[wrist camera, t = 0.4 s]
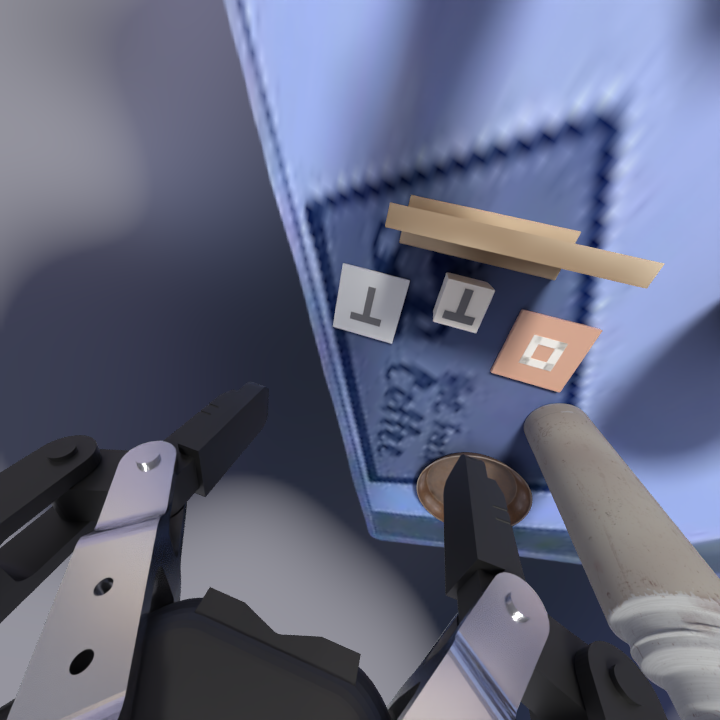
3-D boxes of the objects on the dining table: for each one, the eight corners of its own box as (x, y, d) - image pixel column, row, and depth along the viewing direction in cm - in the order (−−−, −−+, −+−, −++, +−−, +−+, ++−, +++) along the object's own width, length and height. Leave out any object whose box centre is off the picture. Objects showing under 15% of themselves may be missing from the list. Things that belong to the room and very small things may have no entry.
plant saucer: (414, 505, 53) (413, 520, 50) (420, 435, 45) (419, 448, 43) (514, 525, 49) (518, 542, 46) (538, 451, 41) (545, 467, 38)
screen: (411, 195, 31) (396, 174, 18) (577, 231, 28) (685, 234, 16) (399, 242, 33) (379, 250, 21) (552, 279, 31) (629, 312, 19)
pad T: (344, 263, 36) (342, 263, 35) (410, 280, 35) (409, 281, 34) (334, 325, 40) (332, 326, 39) (392, 342, 39) (391, 344, 38)
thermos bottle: (578, 451, 39) (816, 821, 15) (518, 443, 41) (640, 760, 17) (597, 406, 36) (949, 791, 11) (530, 400, 38) (707, 718, 13)
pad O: (521, 308, 33) (523, 310, 32) (599, 328, 32) (602, 330, 31) (490, 370, 37) (491, 372, 37) (557, 390, 36) (560, 392, 35)
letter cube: (446, 271, 33) (448, 278, 29) (487, 282, 33) (495, 290, 28) (432, 311, 36) (432, 323, 31) (470, 321, 35) (475, 335, 31)
